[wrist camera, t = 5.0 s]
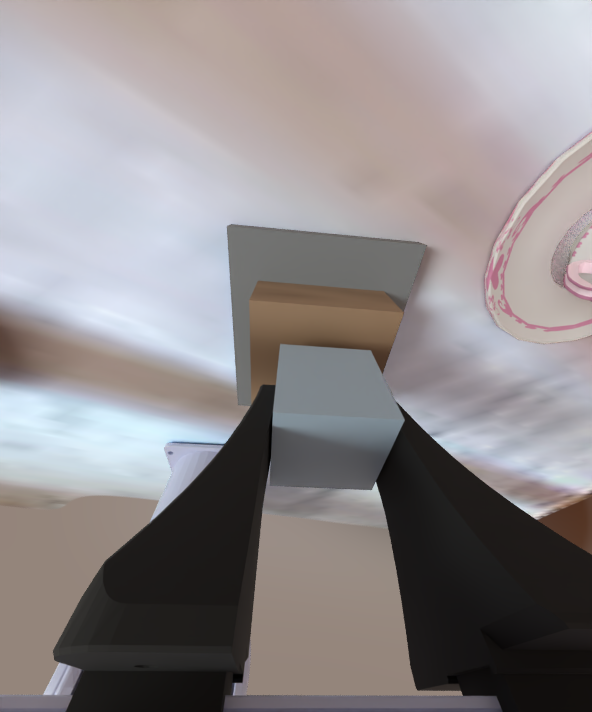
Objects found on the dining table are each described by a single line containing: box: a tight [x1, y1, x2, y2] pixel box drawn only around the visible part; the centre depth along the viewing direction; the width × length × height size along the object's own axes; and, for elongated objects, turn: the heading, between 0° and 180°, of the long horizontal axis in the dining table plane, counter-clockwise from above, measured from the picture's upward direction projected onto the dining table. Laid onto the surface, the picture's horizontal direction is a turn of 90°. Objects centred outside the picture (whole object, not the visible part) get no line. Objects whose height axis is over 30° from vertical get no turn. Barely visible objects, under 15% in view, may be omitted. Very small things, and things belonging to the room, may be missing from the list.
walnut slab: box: [249, 281, 404, 405], centre depth 14 cm, size 7×7×3 cm
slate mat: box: [227, 224, 427, 406], centre depth 16 cm, size 12×10×1 cm
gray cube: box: [270, 344, 405, 490], centre depth 10 cm, size 4×4×4 cm
